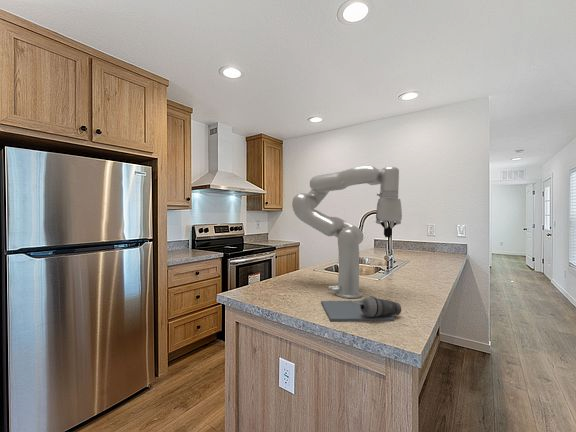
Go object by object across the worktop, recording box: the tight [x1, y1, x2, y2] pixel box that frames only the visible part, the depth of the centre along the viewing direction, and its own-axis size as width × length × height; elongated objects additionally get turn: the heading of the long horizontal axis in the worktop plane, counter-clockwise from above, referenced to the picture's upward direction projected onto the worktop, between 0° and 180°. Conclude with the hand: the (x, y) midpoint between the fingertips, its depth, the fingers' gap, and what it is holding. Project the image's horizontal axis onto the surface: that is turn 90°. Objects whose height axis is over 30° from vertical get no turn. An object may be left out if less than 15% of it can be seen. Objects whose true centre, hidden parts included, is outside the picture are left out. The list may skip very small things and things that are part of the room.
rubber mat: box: [320, 300, 396, 323], centre depth 108 cm, size 23×20×1 cm
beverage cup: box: [351, 295, 402, 317], centre depth 100 cm, size 7×7×20 cm
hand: (387, 237), depth 122 cm, fingers closed
